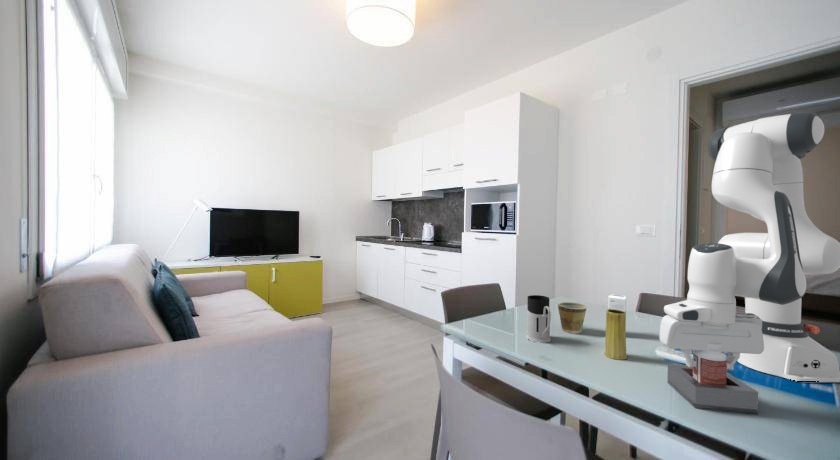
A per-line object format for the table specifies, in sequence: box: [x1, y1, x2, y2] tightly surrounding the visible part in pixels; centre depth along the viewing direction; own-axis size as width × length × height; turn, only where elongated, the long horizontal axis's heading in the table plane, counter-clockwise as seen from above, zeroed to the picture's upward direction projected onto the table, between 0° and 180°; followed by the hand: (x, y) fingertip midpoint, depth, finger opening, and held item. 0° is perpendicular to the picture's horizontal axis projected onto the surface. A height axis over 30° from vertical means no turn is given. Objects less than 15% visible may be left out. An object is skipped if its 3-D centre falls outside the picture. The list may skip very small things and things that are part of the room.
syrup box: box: [607, 293, 627, 313], centre depth 124 cm, size 6×6×14 cm
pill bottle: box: [692, 343, 728, 385], centre depth 80 cm, size 6×6×11 cm
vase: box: [604, 309, 628, 361], centre depth 104 cm, size 6×6×14 cm
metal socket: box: [667, 363, 759, 415], centre depth 80 cm, size 12×12×5 cm
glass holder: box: [525, 294, 552, 344], centre depth 117 cm, size 9×14×15 cm, turn 2°
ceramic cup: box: [557, 301, 587, 335], centre depth 129 cm, size 13×10×10 cm
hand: (709, 367), depth 80 cm, fingers closed on pill bottle, 6 cm apart
